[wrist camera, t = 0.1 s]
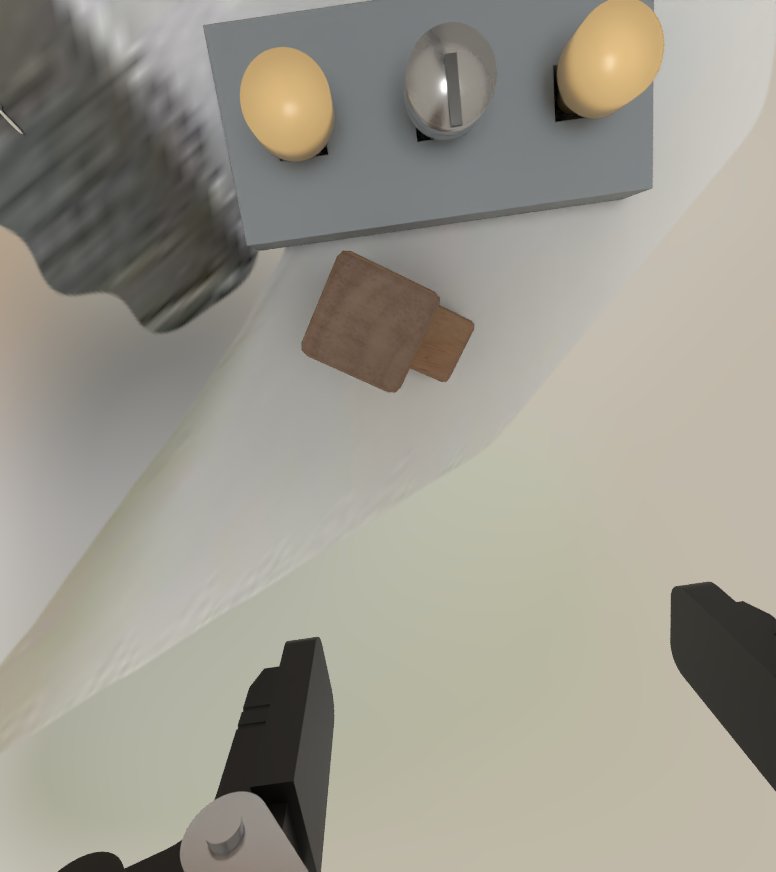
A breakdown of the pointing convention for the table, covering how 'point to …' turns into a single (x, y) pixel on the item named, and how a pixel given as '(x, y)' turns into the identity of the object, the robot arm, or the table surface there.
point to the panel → (396, 134)
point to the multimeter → (9, 120)
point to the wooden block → (383, 326)
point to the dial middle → (449, 80)
